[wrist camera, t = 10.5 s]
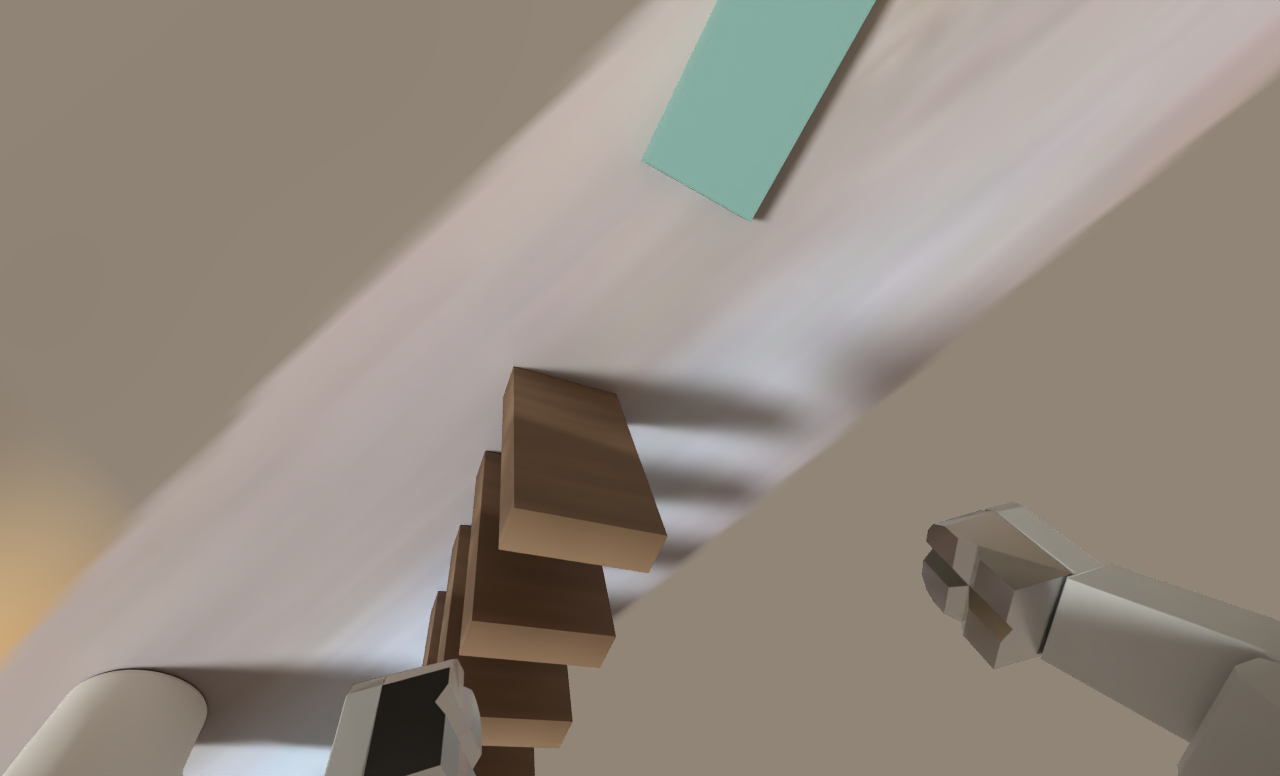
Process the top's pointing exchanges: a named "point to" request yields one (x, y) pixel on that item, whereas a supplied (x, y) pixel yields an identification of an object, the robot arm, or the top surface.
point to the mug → (117, 728)
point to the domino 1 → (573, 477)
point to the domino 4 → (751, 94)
